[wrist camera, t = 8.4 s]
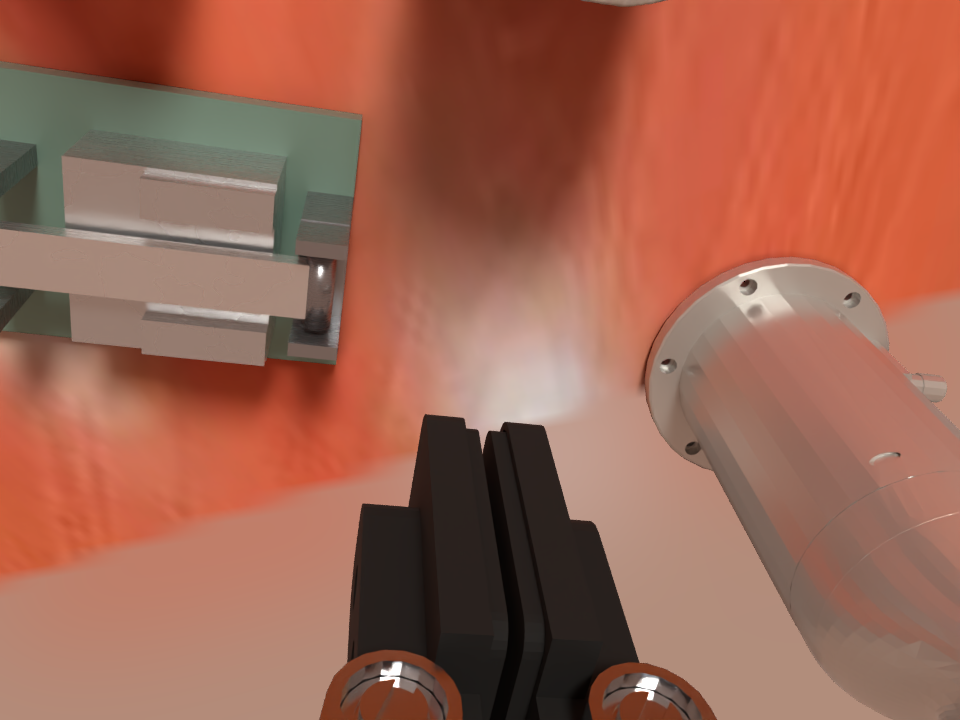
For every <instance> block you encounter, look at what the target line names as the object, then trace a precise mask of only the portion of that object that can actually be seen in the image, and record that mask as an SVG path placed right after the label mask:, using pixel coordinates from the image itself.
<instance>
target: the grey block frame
mask: <svg viewBox="0 0 960 720" xmlns="http://www.w3.org/2000/svg"><path fill="white" fill-rule="evenodd" d="M61 157H62V175H63V193H64V210H65V228H67V229H75V230H83V231H91V232H100V233H108V234H116V235H124V236H133V237H141V238H149V239H157V240H166V241H174V242H182V243H191V244H199V245H207V246H215V247H224V248H232V249H240V250H248V251H257V252H265V253H273V254H280V252H281V237H282V222H283V207H284V192H285V177H286V162H287V156H279V155H272V154H265V153H258V152H250V151H243V150H236V149H229V148H222V147H214V146H207V145H200V144H193V143H185V142H178V141H171V140H164V139H156V138H149V137H142V136H135V135H128V134H120V133H113V132H106V131H99V130H90V131H89V132H88V133H86V134H85V135H84V136H83V137H82V138H81V139H80V140H79V141H77V142H76V143H75V144H74V145H73V146H72V147H71V148H70V149H68V150H67V151H66V152H65V153H64V154H63V155H62V156H61ZM37 165H38V163H37V148H36V144H30V143H23V142H15V141H8V140H0V197H1V196H3V195H4V194H5V193H6V192H7V191H8V190H10V189H11V188H12V187H13V186H14V185H15V184H17V183H18V182H19V181H20V180H21V179H22V178H24V177H25V176H26V175H27V174H28V173H29V172H30V171H32V170H33V169H34V168H35V167H36V166H37ZM353 199H354V197H351V196H343V195H336V194H328V193H320V192H313V191H308V193H307V197H306V201H305V205H304V209H303V213H302V217H301V222H300V226H299V230H298V234H297V238H296V246H295V255H298V257H306V258H307V256H311V257H319V258H328V259H336V260H337V264H336V274H335V284H334V294H333V304H332V315H331V325H330V328H329V329H328V330H325V331H311V330H308V329H305V328H304V327H303V326H302V325H301V321H302V319H298V318H293V323H292V327H291V332H290V337H289V342H288V352H287V356H295V357H305V358H314V359H324V360H334V361H336V360H337V350H338V341H339V331H340V322H341V313H342V303H343V294H344V284H345V275H346V265H347V256H348V246H349V237H350V227H351V218H352V209H353ZM34 291H35V290H34V289H25V288H16V287H7V286H0V332H1V331H2V330H3V328H4V327H5V326H6V325H7V324H8V322H9V321H10V320H11V319H12V318H13V316H14V315H15V314H16V313H17V312H18V310H19V309H20V308H21V307H22V306H23V304H24V303H25V302H26V301H27V299H28V298H29V297H30V296H31V295H32V293H33V292H34ZM69 299H70V317H71V334H72V341H73V342H83V343H93V344H103V345H113V346H122V347H132V348H142V354H147V355H157V356H167V357H177V358H187V359H197V360H207V361H217V362H227V363H237V364H247V365H257V366H264V364H265V361H266V359H267V355H268V351H269V347H270V343H271V339H272V335H273V331H274V327H275V323H276V316H271V315H262V314H253V313H244V312H234V311H225V310H216V309H207V308H198V307H189V306H180V305H171V304H162V303H153V302H143V301H134V300H125V299H116V298H107V297H98V296H89V295H80V294H71V293H69Z"/></svg>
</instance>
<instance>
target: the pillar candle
mask: <svg viewBox="0 0 960 720" xmlns="http://www.w3.org/2000/svg"><path fill="white" fill-rule="evenodd" d="M582 1H587V2H594V3H599V4H606V5H614V6H618V7H630V6H637V5H645V4H653V3H657V2H661V1H666V0H582Z"/></svg>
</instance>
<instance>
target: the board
mask: <svg viewBox="0 0 960 720" xmlns="http://www.w3.org/2000/svg"><path fill="white" fill-rule="evenodd" d="M361 123H362V115H361V114H354V113H348V112H341V111H334V110H327V109H320V108H314V107H307V106H300V105H293V104H287V103H280V102H273V101H266V100H260V99H253V98H246V97H239V96H232V95H226V94H219V93H212V92H205V91H199V90H192V89H185V88H178V87H172V86H165V85H158V84H151V83H144V82H138V81H131V80H124V79H117V78H111V77H104V76H97V75H90V74H84V73H77V72H70V71H63V70H56V69H50V68H43V67H36V66H29V65H23V64H16V63H9V62H2V61H0V140H8V141H15V142H23V143H30V144H36V148H37V163H38V165H37V166H36V167H35V168H34V169H33V170H32V171H30V172H29V173H28V174H27V175H26V176H25V177H24V178H22V179H21V180H20V181H19V182H18V183H17V184H15V185H14V186H13V187H12V188H11V189H10V190H8V191H7V192H6V193H5V194H4V195H3V196H1V197H0V221H9V222H17V223H25V224H33V225H42V226H50V227H58V228H65V210H64V193H63V175H62V157H61V156H62V155H63V154H64V153H65V152H66V151H67V150H68V149H70V148H71V147H72V146H73V145H74V144H75V143H76V142H77V141H79V140H80V139H81V138H82V137H83V136H84V135H85V134H86V133H88V132H89V131H90V130H99V131H106V132H113V133H120V134H128V135H135V136H142V137H149V138H156V139H164V140H171V141H178V142H185V143H193V144H200V145H207V146H214V147H222V148H229V149H236V150H243V151H250V152H258V153H265V154H272V155H279V156H287V162H286V177H285V192H284V207H283V222H282V237H281V252H280V254H282V255H290V256H298V255H295V246H296V238H297V234H298V230H299V226H300V222H301V217H302V213H303V209H304V205H305V201H306V197H307V193H308V191H313V192H320V193H328V194H336V195H343V196H351V197H354V190H355V180H356V171H357V161H358V152H359V142H360V133H361ZM292 323H293V318H289V317H280V316H276V323H275V327H274V331H273V335H272V339H271V343H270V347H269V351H268V355H267V358H274V359H284V360H294V361H304V362H314V363H323V364H333V365H336V361H334V360H324V359H314V358H305V357H295V356H287V352H288V342H289V337H290V332H291V327H292ZM2 331H10V332H20V333H30V334H40V335H49V336H59V337H69V338H72V334H71V317H70V299H69V293H62V292H52V291H43V290H35V291H34V292H33V293H32V295H31V296H30V297H29V298H28V299H27V301H26V302H25V303H24V304H23V306H22V307H21V308H20V309H19V310H18V312H17V313H16V314H15V315H14V316H13V318H12V319H11V320H10V321H9V322H8V324H7V325H6V326H5V327H4V328H3V330H2ZM339 332H340V331H339Z"/></svg>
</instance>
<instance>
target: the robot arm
mask: <svg viewBox="0 0 960 720" xmlns="http://www.w3.org/2000/svg"><path fill="white" fill-rule="evenodd" d="M745 280H746V281H745ZM743 281H745V282H744V283H743V284H742V282H743ZM666 359H667V360H666ZM664 360H665V361H664ZM645 391H646V401H647V404H648V407H649V410H650V413H651V416H652V419H653V420H654V422H655V424H656V426H657V428H658V430H659V432H660V434H661V436H662V437H663V438H664V439H665V441H666V442H667V443H668V444H669V446H670V447H671V448H672V449H673V450H674V451H676V452H677V453H678V454H679V455H680V456H681V457H683V458H684V459H686V460H688V461H690V462H692V463H694V464H696V465H698V466H700V467H702V468H705V469H709V470H712V471H714V473H715V475H716V477H717V478H718V480H719V482H720V484H721V486H722V488H723V490H724V492H725V493H726V495H727V497H728V499H729V501H730V503H731V505H732V506H733V508H734V510H735V512H736V514H737V516H738V518H739V520H740V521H741V523H742V525H743V527H744V529H745V531H746V533H747V535H748V536H749V538H750V540H751V542H752V544H753V546H754V548H755V550H756V552H757V554H758V555H759V557H760V559H761V561H762V563H763V565H764V567H765V569H766V570H767V572H768V574H769V576H770V578H771V580H772V581H773V584H774V585H775V587H776V589H777V591H778V593H779V595H780V597H781V598H782V600H783V602H784V604H785V606H786V608H787V610H788V612H789V614H790V615H791V617H792V619H793V621H794V623H795V625H796V626H797V628H798V630H799V631H800V633H801V635H802V637H803V639H804V641H805V642H806V644H807V646H808V648H809V650H810V652H811V653H812V655H813V656H814V658H815V659H816V661H817V662H818V663H819V665H820V666H821V667H822V669H823V670H824V671H825V672H826V673H827V674H828V676H829V677H830V678H831V679H832V680H833V681H834V682H835V683H836V684H837V685H838V686H839V687H841V688H842V689H843V690H844V691H845V692H847V693H848V694H849V695H850V696H852V697H853V698H855V699H856V700H857V701H859V702H860V703H862V704H864V705H866V706H867V707H869V708H871V709H873V710H875V711H876V712H878V713H880V714H882V715H884V716H886V717H888V718H891V719H893V720H960V430H959V429H958V428H957V427H956V426H955V425H954V424H953V423H952V422H951V421H950V420H949V419H948V418H947V417H946V416H945V415H944V414H943V413H942V412H941V411H940V410H939V409H938V408H937V407H936V406H935V405H934V404H933V403H932V402H939V401H942V399H943V398H944V397H945V394H946V391H947V386H946V381H945V380H944V378H943V377H941V376H938V375H929V374H921V373H916V374H910V373H909V372H908V371H907V370H906V369H905V368H904V367H903V366H902V365H901V364H900V363H899V362H898V361H897V360H896V359H895V358H894V357H893V356H892V355H891V354H890V353H889V339H888V332H887V325H886V322H885V320H884V318H883V315H882V313H881V310H880V308H879V306H878V305H877V303H876V302H875V301H874V299H873V298H872V297H871V295H870V294H869V293H868V291H867V290H866V289H864V288H863V287H862V286H861V285H860V284H859V283H858V282H857V281H856V280H855V279H853V278H852V277H851V276H849V275H847V274H846V273H844V272H843V271H841V270H839V269H838V268H836V267H834V266H831V265H828V264H826V263H823V262H820V261H817V260H812V259H805V258H797V257H781V258H767V259H763V260H759V261H755V262H750V263H746V264H743V265H741V266H738V267H736V268H733V269H731V270H729V271H726V272H724V273H721V274H720V275H718V276H716V277H715V278H713V279H712V280H710V281H708V282H707V283H705V284H703V285H702V286H700V287H699V288H698V289H697V290H695V291H694V292H693V293H692V294H691V295H690V296H688V297H687V298H686V299H685V300H684V301H683V302H682V303H681V304H680V305H679V306H678V307H677V308H676V310H675V311H674V312H673V313H672V314H671V316H670V317H669V318H668V319H667V320H666V322H665V324H664V325H663V327H662V329H661V330H660V332H659V334H658V336H657V337H656V339H655V341H654V344H653V347H652V349H651V352H650V355H649V358H648V361H647V368H646V375H645ZM350 605H351V606H350V622H349V641H348V660H347V664H346V665H345V666H344V667H343V668H342V669H340V671H338V672H337V673H336V674H335V675H334V677H333V679H332V682H331V684H330V686H329V688H328V690H327V692H326V697H325V700H324V704H323V708H322V711H321V715H320V719H319V720H717V719H716V717H715V715H714V713H713V711H712V709H711V708H710V706H709V705H708V704H707V702H706V701H705V699H704V698H703V697H702V695H701V694H700V693H699V692H698V691H697V690H696V689H695V688H694V687H692V686H691V685H690V684H689V683H688V682H687V681H685V680H684V679H683V678H681V677H679V676H677V675H676V674H674V673H672V672H670V671H668V670H666V669H664V668H660V667H657V666H654V665H651V664H647V663H639V660H638V657H637V654H636V651H635V647H634V644H633V641H632V638H631V635H630V631H629V628H628V625H627V622H626V619H625V616H624V612H623V609H622V606H621V603H620V599H619V596H618V593H617V590H616V587H615V583H614V580H613V577H612V574H611V570H610V567H609V564H608V561H607V558H606V554H605V551H604V548H603V545H602V542H601V538H600V535H599V532H598V530H597V528H596V526H595V524H594V523H593V522H591V521H581V520H570V518H569V514H568V511H567V507H566V504H565V500H564V496H563V492H562V489H561V485H560V481H559V478H558V474H557V471H556V467H555V463H554V460H553V456H552V452H551V449H550V445H549V441H548V438H547V434H546V431H545V428H544V426H542V425H532V424H522V423H511V422H504V423H503V425H502V427H501V430H500V432H498V431H489V432H488V433H487V436H486V440H485V445H484V449H483V454H482V449H481V443H480V436H479V431H478V430H476V429H466V425H465V420H464V418H458V417H448V416H437V415H427V414H425V416H424V418H423V422H422V428H421V434H420V440H419V446H418V452H417V458H416V464H415V470H414V476H413V482H412V488H411V495H410V500H409V506H408V507H401V506H388V505H374V504H362V508H361V514H360V521H359V529H358V536H357V544H356V552H355V561H354V569H353V580H352V592H351V604H350Z"/></svg>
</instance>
